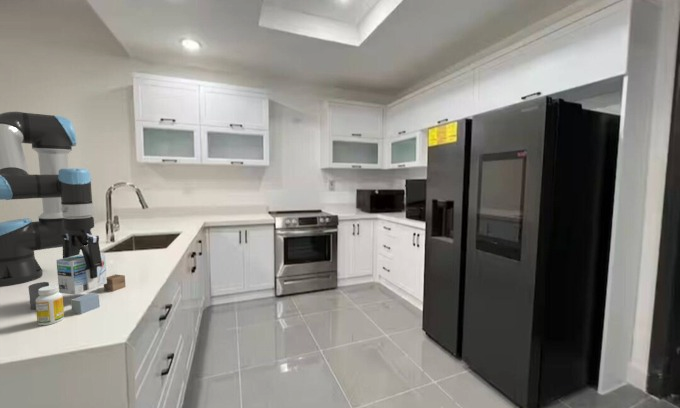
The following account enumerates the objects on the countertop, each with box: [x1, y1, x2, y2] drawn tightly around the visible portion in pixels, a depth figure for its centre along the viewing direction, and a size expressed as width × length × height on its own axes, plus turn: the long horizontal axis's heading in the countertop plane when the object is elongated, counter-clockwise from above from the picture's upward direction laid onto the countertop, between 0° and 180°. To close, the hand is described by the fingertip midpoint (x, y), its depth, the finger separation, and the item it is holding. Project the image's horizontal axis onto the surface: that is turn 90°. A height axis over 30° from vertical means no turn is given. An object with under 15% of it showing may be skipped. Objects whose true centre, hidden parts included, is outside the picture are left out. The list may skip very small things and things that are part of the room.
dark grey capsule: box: [27, 281, 50, 311], centre depth 92 cm, size 4×4×7 cm
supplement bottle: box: [35, 284, 65, 326], centre depth 82 cm, size 5×5×10 cm
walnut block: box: [103, 274, 126, 292], centre depth 106 cm, size 4×4×4 cm
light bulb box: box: [56, 252, 108, 296], centre depth 97 cm, size 11×7×11 cm, turn 168°
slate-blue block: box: [70, 292, 101, 315], centre depth 89 cm, size 4×5×4 cm
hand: (84, 286), depth 97 cm, fingers closed on light bulb box, 7 cm apart
